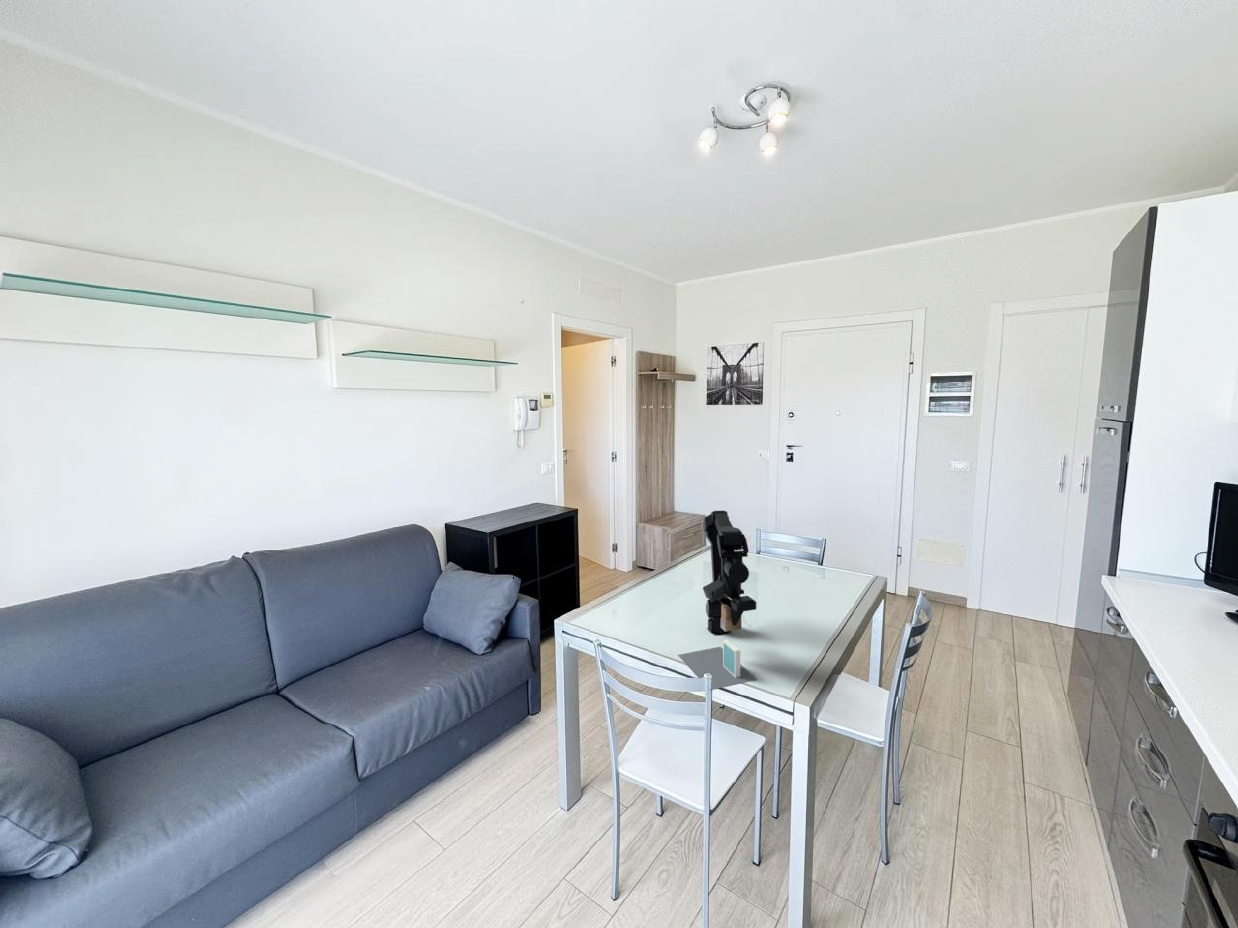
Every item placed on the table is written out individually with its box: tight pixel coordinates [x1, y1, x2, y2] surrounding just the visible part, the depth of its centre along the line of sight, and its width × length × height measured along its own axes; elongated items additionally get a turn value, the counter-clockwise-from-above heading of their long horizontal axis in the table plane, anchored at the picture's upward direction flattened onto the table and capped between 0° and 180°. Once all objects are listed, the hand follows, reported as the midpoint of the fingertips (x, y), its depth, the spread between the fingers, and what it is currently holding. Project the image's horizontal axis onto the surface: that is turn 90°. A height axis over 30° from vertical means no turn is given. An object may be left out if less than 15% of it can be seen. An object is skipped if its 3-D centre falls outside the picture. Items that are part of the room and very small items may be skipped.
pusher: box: [721, 604, 742, 632], centre depth 149 cm, size 5×3×7 cm, turn 106°
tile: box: [722, 639, 741, 678], centre depth 144 cm, size 2×7×8 cm, turn 18°
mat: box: [677, 646, 758, 691], centre depth 147 cm, size 15×21×1 cm
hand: (731, 622), depth 149 cm, fingers closed on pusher, 3 cm apart
